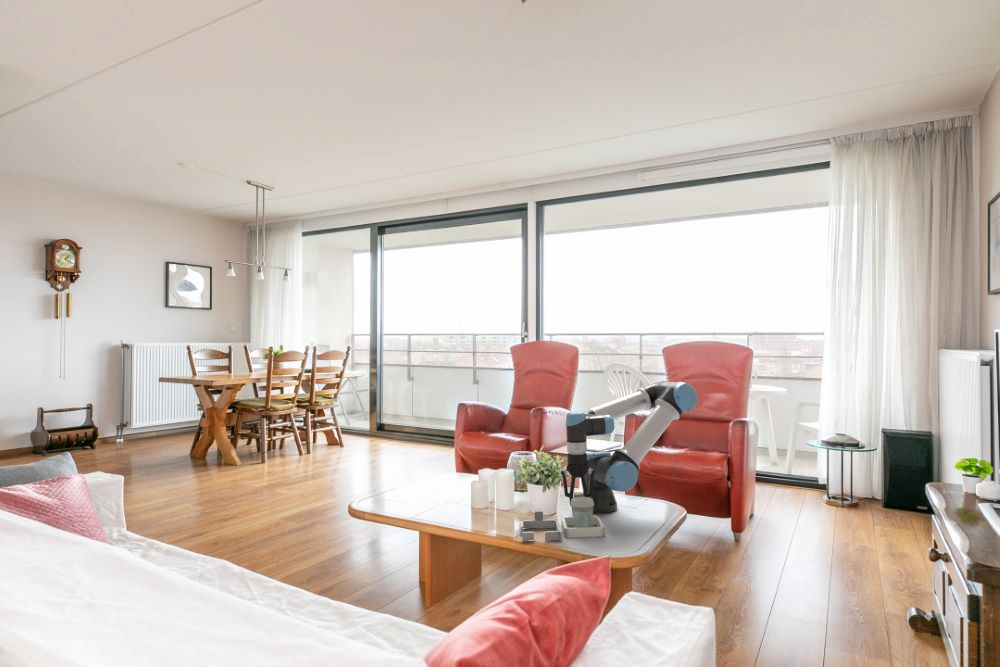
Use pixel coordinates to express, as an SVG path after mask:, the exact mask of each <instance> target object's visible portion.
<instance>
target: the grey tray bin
mask: <svg viewBox="0 0 1000 667" xmlns="http://www.w3.org/2000/svg"><path fill="white" fill-rule="evenodd" d="M573 497H583V491H582V492H581V491H579V492H577V491H576V492H574V493H573ZM560 519H561V527H562V532H563V535H564V538H593V537H594V538H595V537H597V536H598V537H599V536H600V537H606V533H605V532H606V528H605V526H604V524H603V522H602V519H601V518H600V516H599V515H593V517H592V527H582V528H574V527H568V526H574V522H573V515H572V516H561V517H560ZM593 524H596V526H594V525H593ZM598 537H597V538H598ZM600 537H599V538H600Z"/></svg>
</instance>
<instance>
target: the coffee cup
mask: <svg viewBox="0 0 1000 667" xmlns="http://www.w3.org/2000/svg"><path fill="white" fill-rule="evenodd" d="M570 505H571V506H570ZM569 506H570V507H571V513H572V516H573V522H574V525H573V528H582V527H593V525H592V517H593V516H594V513H593V506H594V502H593V499H592V498H590V497H575V498H572V500H571V504H570V503H569Z"/></svg>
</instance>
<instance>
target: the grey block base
mask: <svg viewBox="0 0 1000 667" xmlns="http://www.w3.org/2000/svg"><path fill="white" fill-rule="evenodd" d="M533 511H534V519H525V520H522V519H520V521H519V522H520V535H521V534H522V535H521V537H522V542H529V541H528V540H534V541H535V532H534V531H524V530H525V529H523V528H551V529H555V530H548V531H547V530H546V531H544V533H545V534H544V535H545V539H546V540H562V539H563V538H562V530H561V526H560V522H559V519H544V510H543V508H534V510H533ZM546 540H545V541H546Z"/></svg>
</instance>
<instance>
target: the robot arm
mask: <svg viewBox="0 0 1000 667" xmlns="http://www.w3.org/2000/svg"><path fill="white" fill-rule="evenodd" d="M697 395H698V394H697V391H696V389H695V388H694V387H693V386H692V385H691V384H690V383H687V382H684V381H667V380H666V381H665V380H662V381H656V382H654V383H652V384H648V385H647V386H643V387H641V388H638V389H637V390H636V391H635V392H634V393H631V394H629V395H625V396H623V397H620V398H617V399H615V400H612V401H610V402H609V401H608V402H606V403H603V404H601V405H598V406H595V407H592V408H590V409H587V410H584V411H569V412H567V413H566V415H565V416H566V418H565V429H566V452H567V454H566V457H567V458H566V460H567V465H566V468H564V469H560V474H561V476H562V481H563V482H562V484H563V492H564V496H565V498H566V497H567V498H569V506H570V507H571V505H570V504H571V500H572V498H575V497H574V491H575V484H576V479H577V478H579V479H580V481H581V487H582V494H583V497H590V498H592V499H593V502H594V506H593V514H606V512H608V513H613V512H615V511H616V509H617V510H618V502H617V499H616V496H615V493H614V491H615V492H620V493H621V492H622V493H623V492H624V493H625V492H627V491H630V490H631V489H633V488H634V487H635V486H636V484H637V482H638V480H639V479H638V478H639V477H638V476H639V471H640V469H641V466H640V463H641V462H642V461H643V459H644V458H645V456H646V455H647V454H648V453H649V451H650V450H651V449H652V448H653V446H654V445H655V444H656V442H657V441H658V440H659V439H660V437H661V436H662V434H663V433H664V432H665V431H666V430H667V428H668V427H669V426H670V424H672V422H673V421H674V420H679V419H680V418H681V416H683V414H684V413H688V412H691V411H693V410H695V407H696V405H697V403H698V397H697ZM651 409H652V410H651ZM642 410H643V411H649V410H651V412H650V413H649V414H648V416H647V417H645V419H644V420H643V422H641V424H640V426H639V427H638V428H637V429H636V431H635V432H634V433H633V434H632V436H631V437H630V438H629V440H627V442H626V443H625V444H624V445H623V447H622V448H621V449H616V450H614V452H613V453H611V452H610V451H593V452H587V451H588V450H587V448H588V447H587V444H588V443H587V437H592V436H602V435H603V436H605V435H611V434H612V433H613V432H614V431H615V421H616V420H618V419H620V418H622V417H625V416H629V415H630V414H634V413H636V412H639V411H642ZM567 474H569V475H570V477H571V478H570V486H569V491H568V482H567ZM612 511H613V512H612Z"/></svg>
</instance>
